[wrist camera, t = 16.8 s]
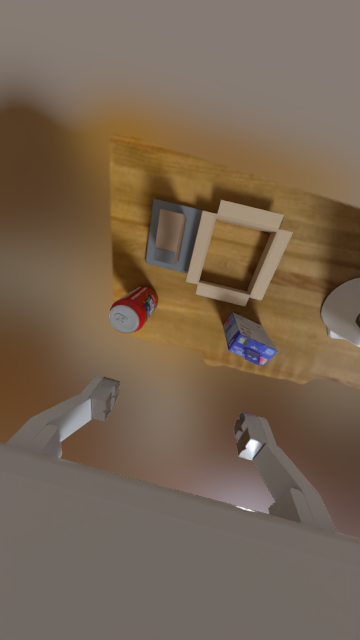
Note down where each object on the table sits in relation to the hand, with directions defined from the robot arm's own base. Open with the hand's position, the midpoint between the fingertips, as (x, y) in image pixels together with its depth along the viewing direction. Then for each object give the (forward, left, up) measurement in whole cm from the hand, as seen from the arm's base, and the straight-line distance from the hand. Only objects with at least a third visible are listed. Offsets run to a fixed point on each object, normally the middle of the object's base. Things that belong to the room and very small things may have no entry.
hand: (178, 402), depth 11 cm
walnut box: (+8, -9, -36) cm, 38 cm away
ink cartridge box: (-16, +9, -37) cm, 42 cm away
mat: (+8, -9, -37) cm, 39 cm away
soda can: (+13, +8, -37) cm, 40 cm away
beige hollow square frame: (-7, -8, -37) cm, 39 cm away
